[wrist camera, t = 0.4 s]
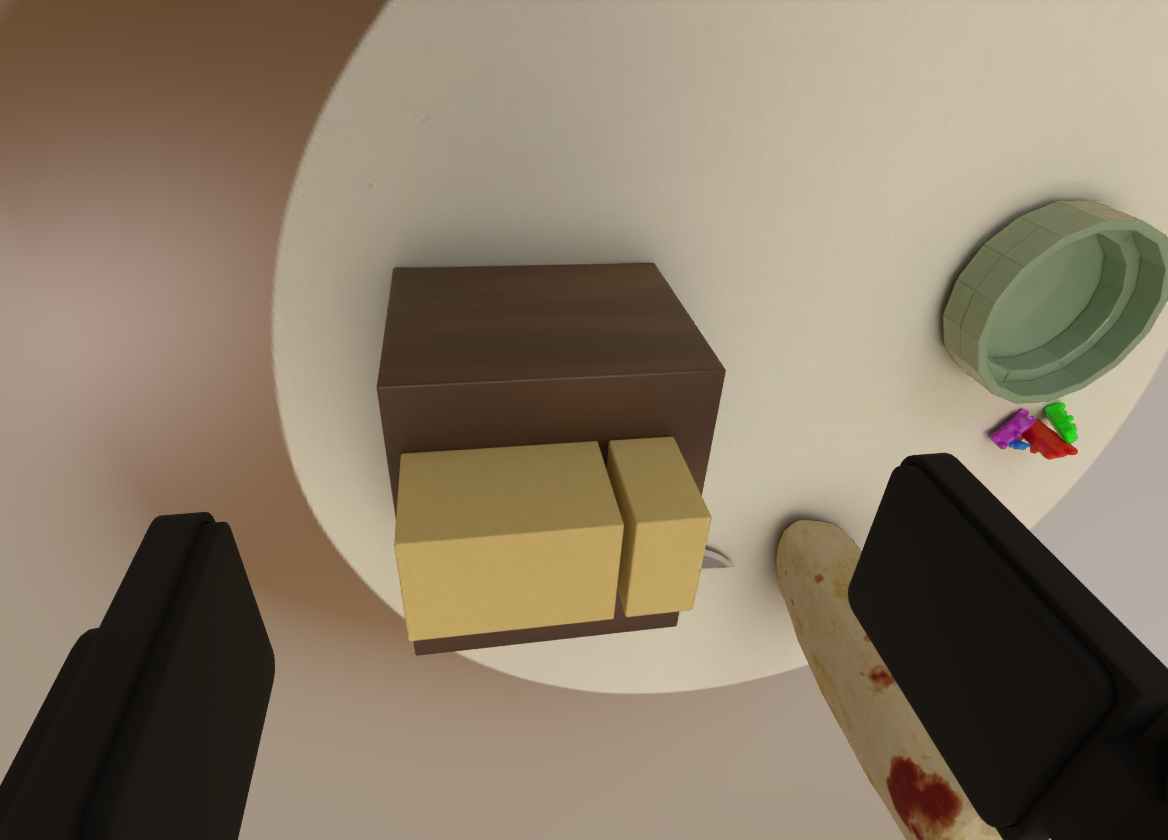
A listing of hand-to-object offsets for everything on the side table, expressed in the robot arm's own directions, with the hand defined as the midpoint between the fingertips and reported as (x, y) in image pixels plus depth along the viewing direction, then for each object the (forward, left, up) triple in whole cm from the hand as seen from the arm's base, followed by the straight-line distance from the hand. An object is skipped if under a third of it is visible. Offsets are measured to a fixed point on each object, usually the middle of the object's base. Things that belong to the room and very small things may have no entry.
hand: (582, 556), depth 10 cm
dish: (+7, +29, -23) cm, 37 cm away
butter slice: (+10, +5, -13) cm, 17 cm away
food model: (+26, +21, -23) cm, 40 cm away
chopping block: (+12, +2, -23) cm, 26 cm away
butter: (+10, 0, -13) cm, 16 cm away
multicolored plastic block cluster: (+16, +33, -23) cm, 43 cm away
